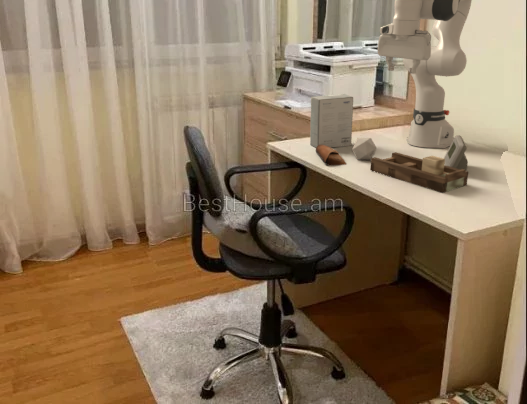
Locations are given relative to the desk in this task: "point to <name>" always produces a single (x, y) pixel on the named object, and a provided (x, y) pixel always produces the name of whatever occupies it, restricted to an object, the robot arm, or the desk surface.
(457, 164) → the digital clock
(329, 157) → the sunglasses case
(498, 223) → the desk surface
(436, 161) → the maple cube
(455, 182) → the track
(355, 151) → the die
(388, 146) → the desk surface
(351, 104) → the hard drive box
